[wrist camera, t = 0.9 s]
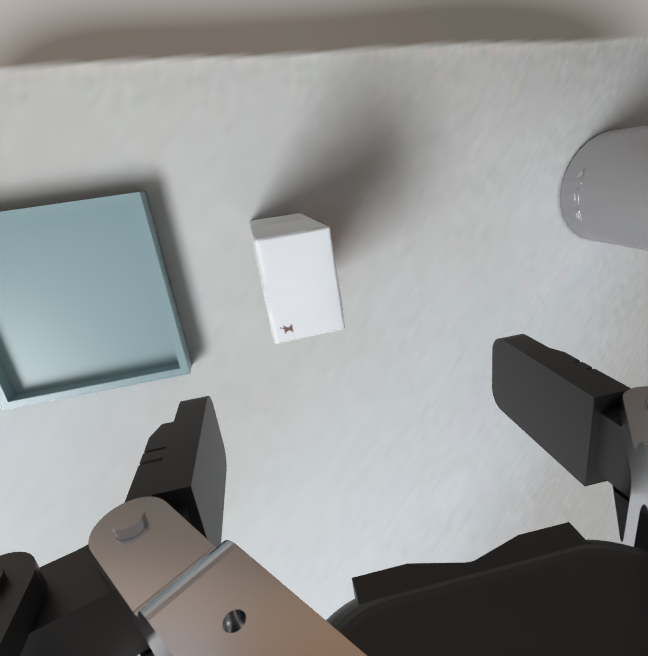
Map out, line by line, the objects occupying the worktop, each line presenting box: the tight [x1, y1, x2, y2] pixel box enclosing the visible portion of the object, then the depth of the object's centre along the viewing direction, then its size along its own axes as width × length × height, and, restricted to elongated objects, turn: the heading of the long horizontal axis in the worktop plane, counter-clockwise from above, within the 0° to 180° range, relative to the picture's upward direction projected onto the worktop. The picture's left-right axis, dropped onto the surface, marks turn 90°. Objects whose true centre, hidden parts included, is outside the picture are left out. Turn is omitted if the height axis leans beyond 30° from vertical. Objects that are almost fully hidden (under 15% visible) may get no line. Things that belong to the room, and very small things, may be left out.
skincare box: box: [249, 213, 345, 344], centre depth 28 cm, size 6×4×12 cm
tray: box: [0, 191, 192, 410], centre depth 31 cm, size 14×14×2 cm
